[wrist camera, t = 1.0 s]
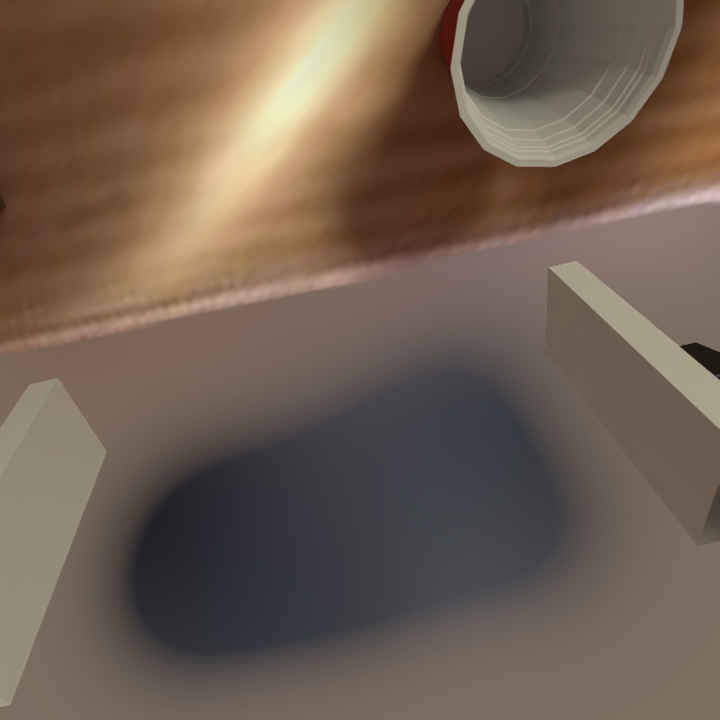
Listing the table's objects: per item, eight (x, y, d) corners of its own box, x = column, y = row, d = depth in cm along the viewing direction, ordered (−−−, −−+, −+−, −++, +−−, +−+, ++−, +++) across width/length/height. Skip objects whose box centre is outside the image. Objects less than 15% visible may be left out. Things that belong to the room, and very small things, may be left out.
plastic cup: (407, 141, 36) (457, 191, 26) (390, -56, 30) (447, -89, 20) (559, 112, 36) (665, 151, 26) (573, -89, 30) (719, -138, 20)
